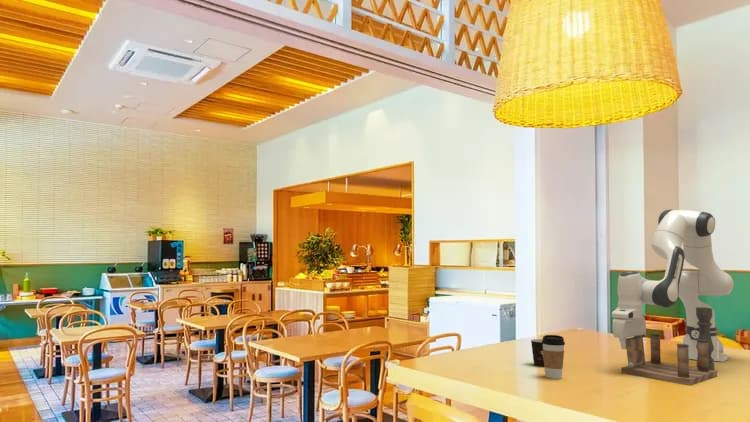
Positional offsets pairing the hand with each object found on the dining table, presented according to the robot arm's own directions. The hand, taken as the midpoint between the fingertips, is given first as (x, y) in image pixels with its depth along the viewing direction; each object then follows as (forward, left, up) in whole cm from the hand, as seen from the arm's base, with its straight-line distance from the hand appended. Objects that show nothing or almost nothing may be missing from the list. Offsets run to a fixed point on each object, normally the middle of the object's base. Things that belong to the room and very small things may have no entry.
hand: (630, 347), depth 223 cm
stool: (-7, +12, -9) cm, 16 cm away
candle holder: (-26, +18, -9) cm, 33 cm away
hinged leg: (0, +3, -6) cm, 6 cm away
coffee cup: (+34, -12, -9) cm, 37 cm away
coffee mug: (+18, -26, -9) cm, 33 cm away
